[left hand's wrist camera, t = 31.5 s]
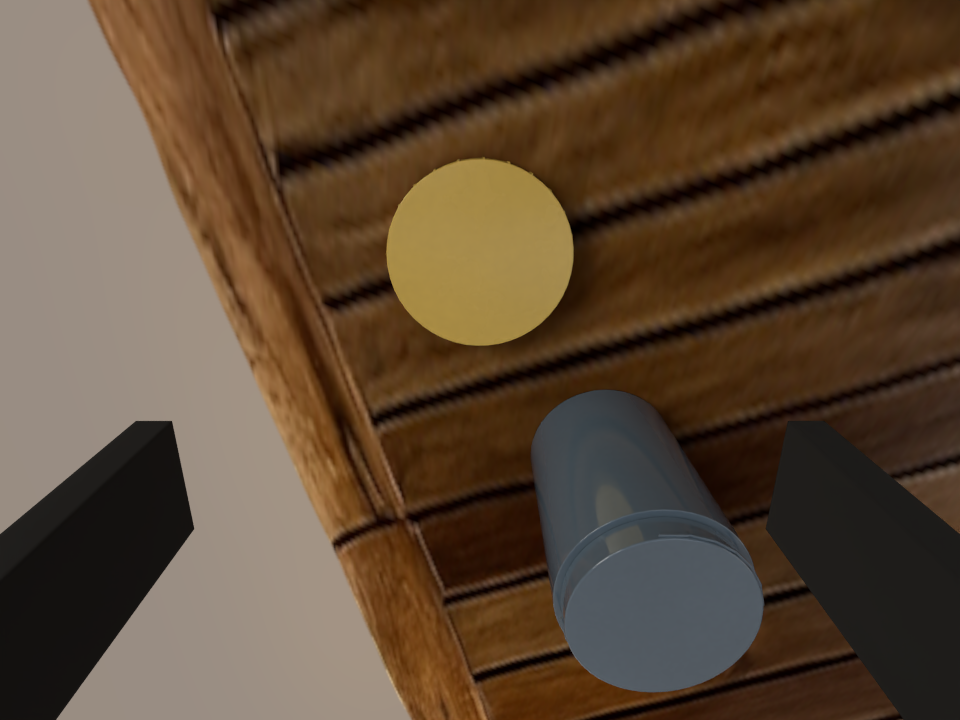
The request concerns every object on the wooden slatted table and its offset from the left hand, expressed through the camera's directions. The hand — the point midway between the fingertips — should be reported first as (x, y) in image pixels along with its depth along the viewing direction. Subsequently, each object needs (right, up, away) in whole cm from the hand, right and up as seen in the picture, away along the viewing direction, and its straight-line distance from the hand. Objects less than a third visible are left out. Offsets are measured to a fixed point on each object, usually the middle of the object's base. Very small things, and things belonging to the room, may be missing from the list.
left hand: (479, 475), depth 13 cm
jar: (+9, -4, +30) cm, 31 cm away
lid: (0, +9, +23) cm, 25 cm away
